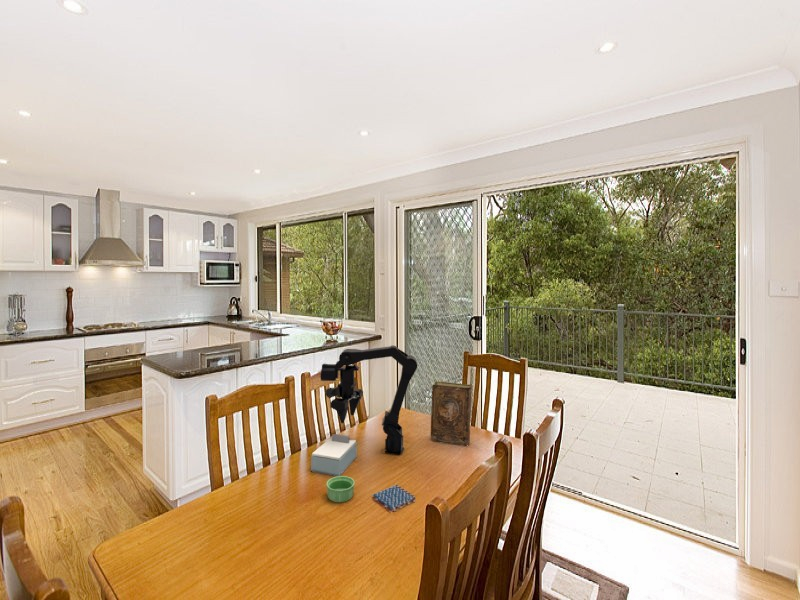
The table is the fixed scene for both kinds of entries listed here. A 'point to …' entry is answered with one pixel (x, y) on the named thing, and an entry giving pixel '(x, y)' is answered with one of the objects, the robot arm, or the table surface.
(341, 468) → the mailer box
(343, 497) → the ramekin
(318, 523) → the table surface
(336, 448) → the lid
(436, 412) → the book
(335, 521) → the table surface
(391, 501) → the woven mat
